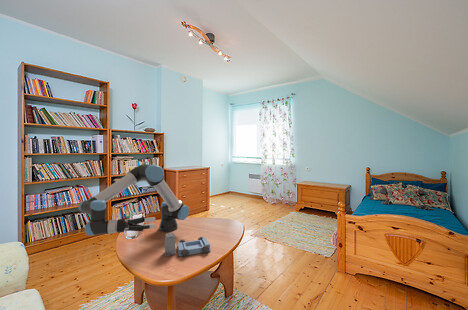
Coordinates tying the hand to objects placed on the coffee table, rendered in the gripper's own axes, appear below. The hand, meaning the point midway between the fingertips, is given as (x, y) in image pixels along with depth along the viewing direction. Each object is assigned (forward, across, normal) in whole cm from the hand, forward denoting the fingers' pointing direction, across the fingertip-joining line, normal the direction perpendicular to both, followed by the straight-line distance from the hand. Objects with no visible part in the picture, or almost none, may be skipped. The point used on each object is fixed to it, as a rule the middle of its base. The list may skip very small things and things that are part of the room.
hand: (155, 222), depth 132 cm
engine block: (+9, 0, -21) cm, 23 cm away
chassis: (+24, 0, -20) cm, 31 cm away
